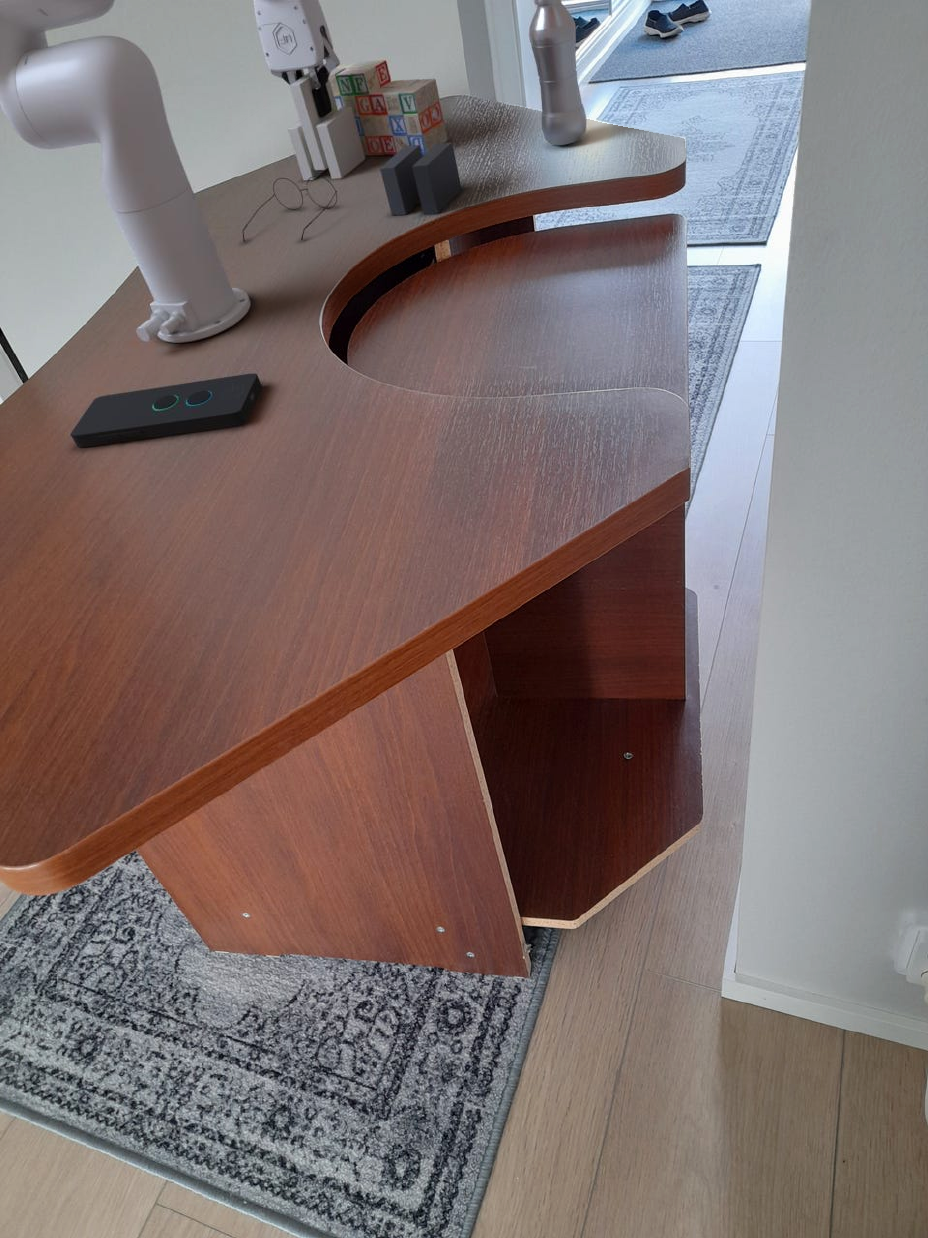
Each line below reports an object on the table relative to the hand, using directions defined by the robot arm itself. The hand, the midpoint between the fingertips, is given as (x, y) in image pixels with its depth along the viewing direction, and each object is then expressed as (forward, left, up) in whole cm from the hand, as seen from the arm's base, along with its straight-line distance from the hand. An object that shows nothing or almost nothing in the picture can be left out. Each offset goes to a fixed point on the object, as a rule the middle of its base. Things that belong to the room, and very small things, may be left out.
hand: (318, 113), depth 143 cm
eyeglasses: (-21, -5, -9) cm, 23 cm away
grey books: (-15, -25, -8) cm, 30 cm away
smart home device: (-70, -20, -9) cm, 73 cm away
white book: (0, 0, -7) cm, 7 cm away
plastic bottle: (+5, -39, -9) cm, 40 cm away
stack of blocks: (+8, -6, -9) cm, 13 cm away
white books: (0, 0, -8) cm, 8 cm away
